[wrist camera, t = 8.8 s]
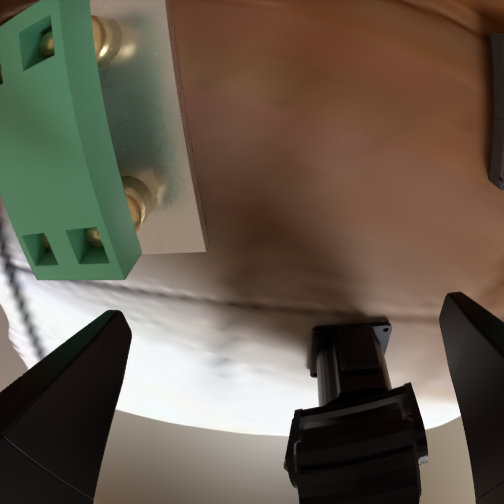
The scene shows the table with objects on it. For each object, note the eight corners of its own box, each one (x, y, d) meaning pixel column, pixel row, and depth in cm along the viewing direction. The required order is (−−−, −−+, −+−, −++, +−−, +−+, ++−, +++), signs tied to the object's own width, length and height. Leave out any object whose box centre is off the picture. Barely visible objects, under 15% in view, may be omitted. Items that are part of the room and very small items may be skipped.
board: (142, 252, 17) (125, 280, 15) (57, 256, 18) (36, 280, 16) (89, -4, 9) (58, -10, 7) (1, 45, 10) (-30, 50, 8)
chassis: (209, 243, 21) (189, 299, 16) (67, 251, 22) (31, 294, 18) (167, -35, 11) (125, -65, 7) (13, 33, 13) (-44, 40, 8)
